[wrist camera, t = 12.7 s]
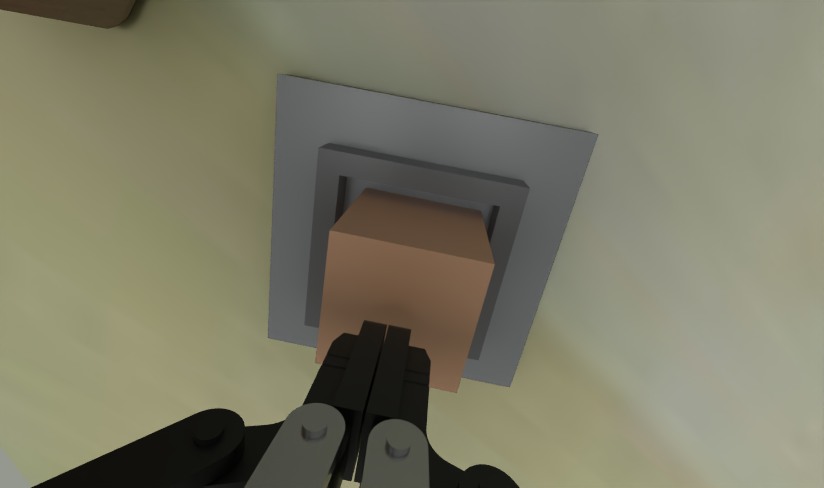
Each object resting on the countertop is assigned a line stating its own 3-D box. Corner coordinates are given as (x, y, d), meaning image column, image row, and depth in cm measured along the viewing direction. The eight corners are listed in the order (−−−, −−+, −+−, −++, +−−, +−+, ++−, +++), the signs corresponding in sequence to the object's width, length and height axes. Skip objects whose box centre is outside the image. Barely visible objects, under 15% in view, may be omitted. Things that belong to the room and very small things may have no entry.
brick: (366, 187, 18) (329, 230, 13) (481, 210, 18) (494, 264, 12) (352, 288, 20) (315, 362, 15) (454, 309, 20) (456, 393, 15)
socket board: (286, 74, 18) (261, 71, 15) (590, 132, 17) (612, 138, 15) (275, 327, 23) (255, 354, 21) (507, 375, 23) (514, 407, 20)
